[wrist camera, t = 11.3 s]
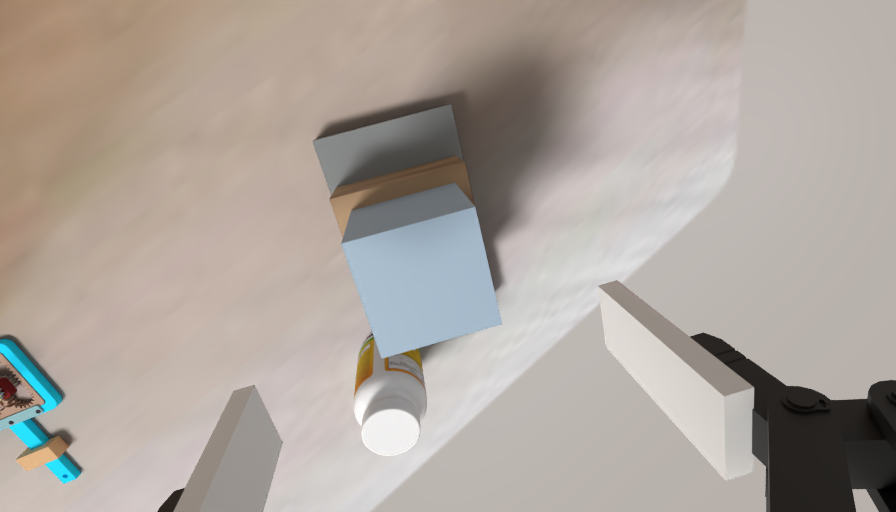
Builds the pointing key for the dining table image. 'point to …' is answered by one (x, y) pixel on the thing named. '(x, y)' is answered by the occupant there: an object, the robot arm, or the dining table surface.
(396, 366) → the supplement bottle
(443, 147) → the board
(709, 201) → the dining table surface
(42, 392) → the gear mechanism
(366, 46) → the dining table surface
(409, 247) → the blue cube
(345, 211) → the base brick
